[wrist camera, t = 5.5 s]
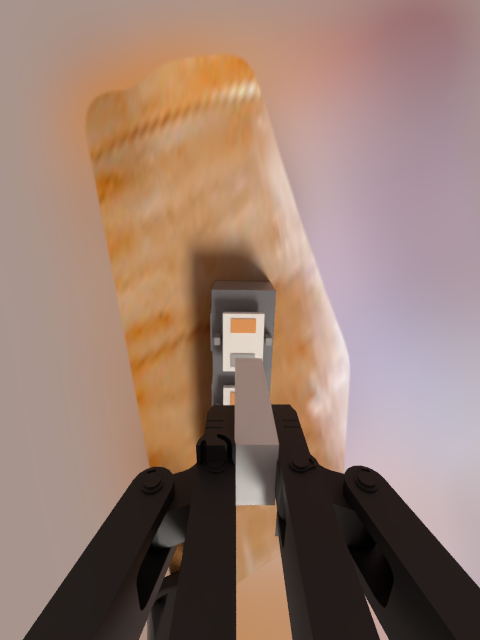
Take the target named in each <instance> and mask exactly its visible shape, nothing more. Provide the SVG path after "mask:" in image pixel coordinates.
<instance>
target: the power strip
mask: <svg viewBox="0 0 480 640" xmlns="http://www.w3.org/2000/svg"><path fill="white" fill-rule="evenodd" d="M211 293H212V309H211V312H210V342H211V351H213V376H212V383H211V393H212V406H213V405H223V387H224V385H235V371H223V312H264V314H265V316H264V342H263V366H264V371H265V376H266V381H267V386H268V392H269V397H270V384H271V367H272V349H273V332H274V314H275V297H276V290H275V288H274V287H273V285H272V284H271V282H270V281H215V282H214V285H213V287H212V290H211Z"/></svg>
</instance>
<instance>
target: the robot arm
mask: <svg viewBox="0 0 480 640" xmlns="http://www.w3.org/2000/svg"><path fill="white" fill-rule="evenodd" d="M196 453H197V463H196V464H195V465H194V466H193V467H191V468H190V469H188V470H185V471H183V472H179V473H176V474H172V473H171V472H170V471H169V470H168V469H166V468H164V467H152V468H149V469H146V470H144V471H143V472H141V473H139V474H138V475H137V477H136V478H135V479H134V480H133V481H132V483H131V484H130V486H129V487H128V488H127V490H126V492H125V493H124V494H123V496H122V497H121V499H120V500H119V502H118V503H117V504H116V506H115V507H114V509H113V510H112V512H111V513H110V515H109V516H108V518H107V519H106V520H105V522H104V523H103V525H102V526H101V527H100V529H99V531H98V532H97V533H96V535H95V536H94V538H93V539H92V541H91V542H90V543H89V545H88V546H87V548H86V549H85V551H84V552H83V554H82V555H81V556H80V558H79V559H78V561H77V562H76V564H75V565H74V566H73V568H72V569H71V571H70V572H69V574H68V575H67V577H66V578H65V579H64V581H63V582H62V584H61V585H60V587H59V588H58V590H57V591H56V593H55V594H54V596H53V597H52V599H51V600H50V601H49V603H48V604H47V606H46V607H45V608H44V610H43V611H42V613H41V614H40V616H39V617H38V618H37V620H36V621H35V623H34V624H33V626H32V627H31V629H30V630H29V631H28V633H27V634H26V636H25V637H24V639H23V640H139V638H140V635H141V633H142V631H143V628H144V626H145V623H146V621H147V640H236V505H275V497H276V504H277V519H276V533H275V536H279V543H280V550H281V557H282V565H283V572H284V580H285V587H286V595H287V601H288V609H289V617H290V623H291V631H292V639H293V640H380V638H379V636H378V633H377V630H376V627H375V624H374V621H373V618H372V616H371V612H370V610H369V607H368V604H367V601H366V598H367V600H368V602H369V604H370V605H371V607H372V609H373V611H374V612H375V615H376V616H377V618H378V620H379V622H380V624H381V626H382V628H383V629H384V631H385V633H386V635H387V637H388V639H389V640H480V588H479V587H478V586H477V584H476V583H475V582H474V581H473V580H472V579H471V578H470V577H469V576H468V574H467V573H466V572H465V571H464V570H463V568H462V567H461V566H460V565H459V564H458V563H457V562H456V560H455V559H454V558H453V557H452V556H451V555H450V553H449V552H448V551H447V550H446V549H445V548H444V547H443V546H442V544H441V543H440V542H439V541H438V540H437V539H436V537H435V536H434V535H433V534H432V533H431V532H430V531H429V530H428V528H427V527H426V526H425V525H424V524H423V523H422V521H421V520H420V519H419V518H418V517H417V516H416V515H415V513H414V512H413V511H412V510H411V509H410V508H409V506H408V505H407V504H406V503H405V502H404V501H403V500H402V498H401V497H400V496H399V495H398V494H397V493H396V492H395V490H394V489H393V488H392V487H391V486H390V485H389V484H388V482H387V481H386V480H385V479H384V478H383V477H382V476H381V475H380V474H379V473H377V472H376V471H374V470H372V469H370V468H368V467H364V466H352V467H350V468H348V469H347V470H346V472H345V474H342V473H339V472H335V471H331V470H328V469H326V468H324V467H322V466H320V465H319V464H318V462H317V460H316V459H315V458H314V457H313V456H312V455H310V452H309V449H308V446H307V443H306V440H305V437H304V434H303V431H302V428H301V425H300V422H299V419H298V416H297V413H296V411H295V410H294V409H293V408H292V407H291V406H290V405H271V402H270V397H269V392H268V386H267V381H266V376H265V371H264V366H263V361H262V358H235V405H213V406H212V407H211V409H210V410H209V411H208V414H207V420H206V427H205V433H204V435H203V436H202V437H201V438H200V439H199V440H198V442H197V445H196ZM182 542H184V548H183V555H182V561H181V567H180V572H179V573H175V574H171V575H169V576H166V577H165V574H166V572H167V569H168V567H169V565H170V562H171V560H172V557H173V555H174V552H175V550H176V547H177V544H180V543H182ZM164 577H165V578H164ZM364 594H365V595H364ZM365 596H366V598H365Z"/></svg>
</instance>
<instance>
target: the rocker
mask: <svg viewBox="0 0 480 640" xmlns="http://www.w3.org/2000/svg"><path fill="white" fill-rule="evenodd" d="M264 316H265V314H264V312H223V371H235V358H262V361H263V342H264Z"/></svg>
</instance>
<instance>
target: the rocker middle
mask: <svg viewBox="0 0 480 640" xmlns="http://www.w3.org/2000/svg"><path fill="white" fill-rule="evenodd" d="M223 405H235V385H224V387H223Z"/></svg>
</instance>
